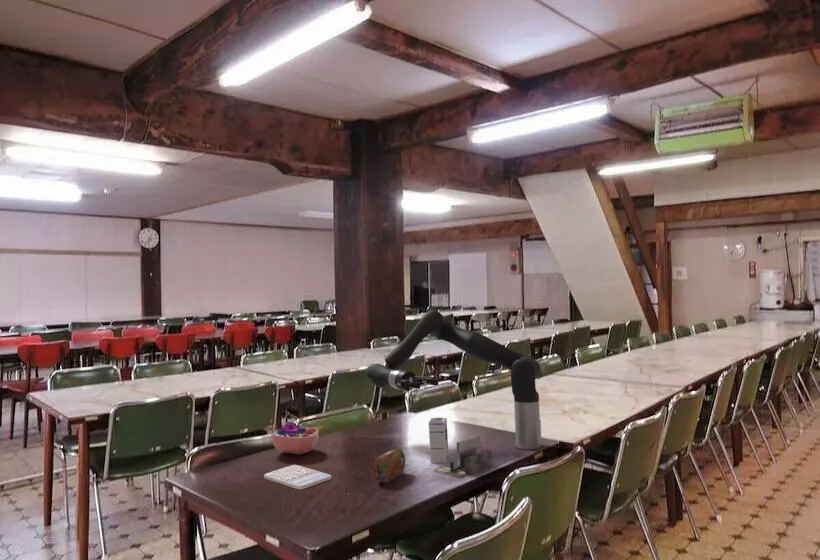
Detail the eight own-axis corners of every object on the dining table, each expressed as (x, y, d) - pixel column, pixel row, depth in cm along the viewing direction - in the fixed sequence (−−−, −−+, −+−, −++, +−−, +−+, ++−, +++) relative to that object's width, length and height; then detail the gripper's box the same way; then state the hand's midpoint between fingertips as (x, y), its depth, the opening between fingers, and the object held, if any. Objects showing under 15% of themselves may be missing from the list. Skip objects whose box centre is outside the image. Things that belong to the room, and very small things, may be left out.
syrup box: (446, 463, 198) (445, 421, 198) (429, 462, 199) (428, 421, 200) (448, 458, 204) (447, 417, 204) (432, 457, 205) (431, 417, 205)
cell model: (289, 464, 204) (288, 432, 204) (263, 453, 219) (262, 423, 219) (329, 453, 215) (328, 423, 215) (302, 444, 230) (301, 415, 230)
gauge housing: (466, 458, 203) (466, 444, 203) (493, 464, 195) (492, 449, 195) (433, 471, 190) (433, 456, 190) (461, 478, 182) (460, 462, 182)
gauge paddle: (478, 460, 197) (477, 434, 198) (481, 461, 197) (480, 435, 197) (450, 472, 186) (449, 445, 186) (452, 473, 185) (451, 445, 185)
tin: (381, 486, 177) (380, 459, 177) (372, 485, 179) (371, 458, 179) (406, 472, 190) (405, 446, 190) (398, 471, 192) (397, 445, 192)
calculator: (295, 468, 200) (295, 463, 200) (333, 480, 187) (332, 474, 187) (262, 479, 190) (262, 473, 190) (300, 491, 177) (300, 485, 177)
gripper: (386, 372, 216) (413, 376, 204) (416, 367, 225) (443, 371, 212) (387, 392, 216) (413, 397, 204) (417, 387, 225) (444, 391, 212)
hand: (428, 384), depth 208 cm, fingers open, 8 cm apart
